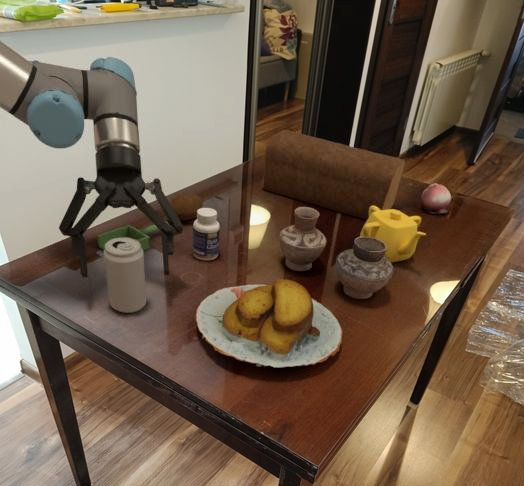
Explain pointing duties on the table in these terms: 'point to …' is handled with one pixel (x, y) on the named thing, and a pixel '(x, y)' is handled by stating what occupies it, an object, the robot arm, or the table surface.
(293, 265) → the pottery
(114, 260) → the beverage can
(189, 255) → the table surface
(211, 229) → the pill bottle
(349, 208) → the bread
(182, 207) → the potato
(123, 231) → the scoop
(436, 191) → the pink peach
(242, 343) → the food on plate
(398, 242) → the teapot
